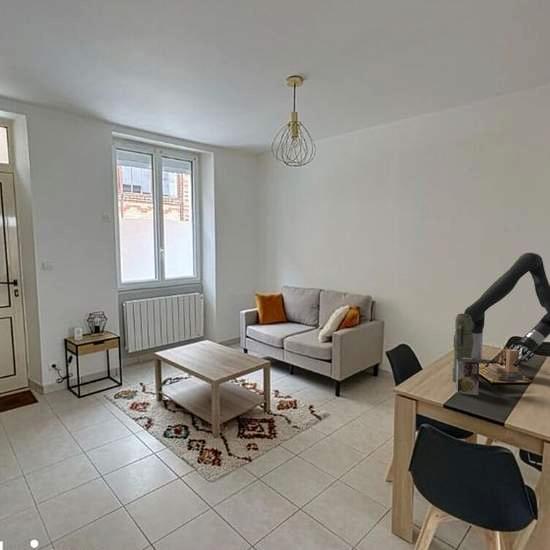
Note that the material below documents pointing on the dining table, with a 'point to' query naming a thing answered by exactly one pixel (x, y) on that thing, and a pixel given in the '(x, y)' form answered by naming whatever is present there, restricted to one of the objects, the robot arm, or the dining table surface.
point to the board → (511, 360)
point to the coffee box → (467, 375)
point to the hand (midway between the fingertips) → (509, 363)
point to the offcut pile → (497, 371)
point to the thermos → (462, 339)
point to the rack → (512, 377)
